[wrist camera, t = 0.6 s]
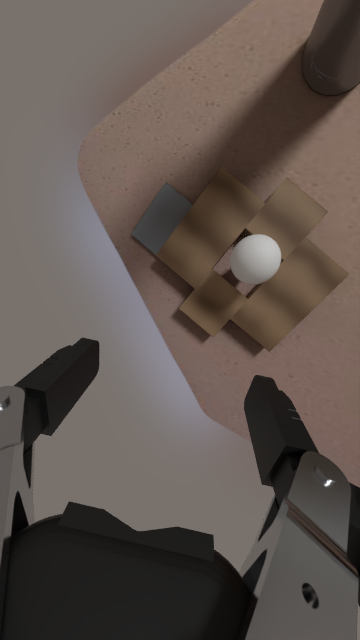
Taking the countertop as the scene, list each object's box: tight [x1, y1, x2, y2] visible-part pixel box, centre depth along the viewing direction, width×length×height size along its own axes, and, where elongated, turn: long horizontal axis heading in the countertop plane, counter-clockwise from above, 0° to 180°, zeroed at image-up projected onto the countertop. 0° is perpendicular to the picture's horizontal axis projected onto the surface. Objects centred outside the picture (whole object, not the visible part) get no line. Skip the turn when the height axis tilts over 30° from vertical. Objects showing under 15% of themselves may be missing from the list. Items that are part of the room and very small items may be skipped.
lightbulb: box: [230, 234, 281, 284], centre depth 28 cm, size 6×6×11 cm
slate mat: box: [131, 182, 193, 255], centre depth 34 cm, size 10×9×1 cm
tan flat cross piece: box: [156, 166, 349, 352], centre depth 32 cm, size 24×24×2 cm
